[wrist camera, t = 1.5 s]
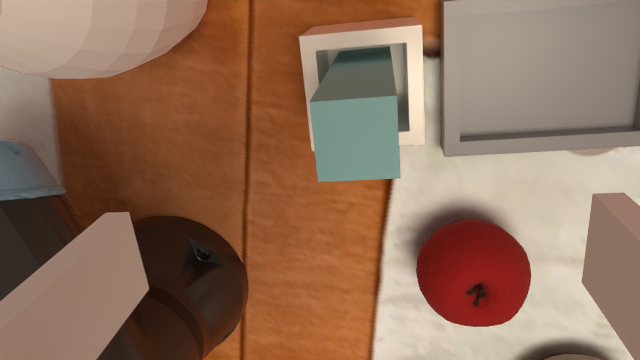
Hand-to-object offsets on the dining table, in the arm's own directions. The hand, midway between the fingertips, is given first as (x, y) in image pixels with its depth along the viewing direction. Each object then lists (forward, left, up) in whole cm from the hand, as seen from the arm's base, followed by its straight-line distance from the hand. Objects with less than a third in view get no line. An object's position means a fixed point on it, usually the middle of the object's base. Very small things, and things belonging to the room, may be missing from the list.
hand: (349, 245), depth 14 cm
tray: (+14, -1, -29) cm, 32 cm away
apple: (+8, -17, -29) cm, 34 cm away
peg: (0, 0, -28) cm, 28 cm away
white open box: (0, 0, -29) cm, 29 cm away
